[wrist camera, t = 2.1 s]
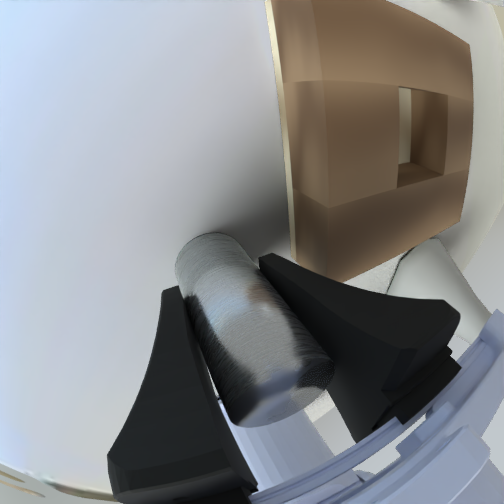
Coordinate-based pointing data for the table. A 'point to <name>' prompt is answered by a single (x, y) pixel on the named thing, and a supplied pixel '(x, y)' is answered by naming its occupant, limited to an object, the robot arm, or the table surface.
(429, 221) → the bore block
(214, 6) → the table surface
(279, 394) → the pin
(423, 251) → the flask
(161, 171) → the table surface
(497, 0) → the shot glass
